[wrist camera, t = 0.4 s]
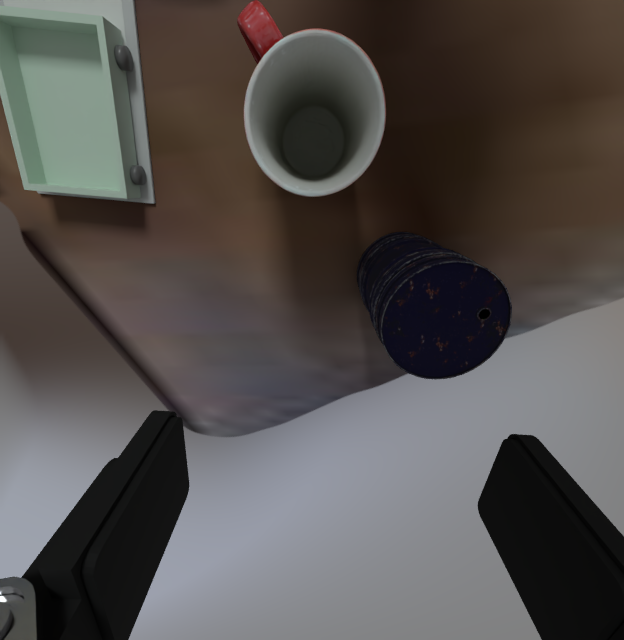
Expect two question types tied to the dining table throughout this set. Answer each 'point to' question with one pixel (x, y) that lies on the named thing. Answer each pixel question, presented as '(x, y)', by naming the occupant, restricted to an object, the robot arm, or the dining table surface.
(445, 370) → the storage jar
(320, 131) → the mug
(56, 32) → the cart
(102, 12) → the track
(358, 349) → the dining table surface
